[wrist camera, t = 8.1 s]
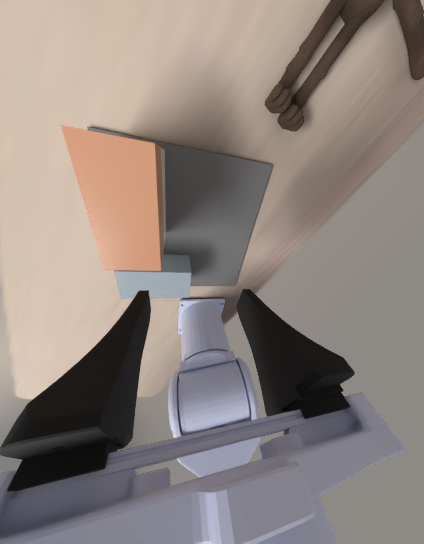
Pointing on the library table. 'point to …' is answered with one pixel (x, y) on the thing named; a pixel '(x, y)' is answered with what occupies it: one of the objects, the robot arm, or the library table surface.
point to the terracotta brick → (121, 197)
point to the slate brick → (158, 279)
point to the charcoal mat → (209, 209)
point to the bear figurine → (354, 11)
